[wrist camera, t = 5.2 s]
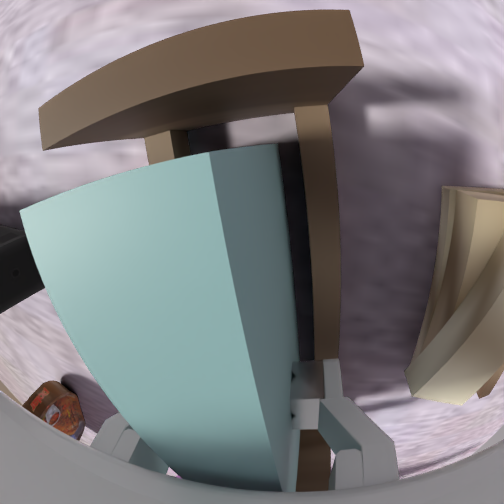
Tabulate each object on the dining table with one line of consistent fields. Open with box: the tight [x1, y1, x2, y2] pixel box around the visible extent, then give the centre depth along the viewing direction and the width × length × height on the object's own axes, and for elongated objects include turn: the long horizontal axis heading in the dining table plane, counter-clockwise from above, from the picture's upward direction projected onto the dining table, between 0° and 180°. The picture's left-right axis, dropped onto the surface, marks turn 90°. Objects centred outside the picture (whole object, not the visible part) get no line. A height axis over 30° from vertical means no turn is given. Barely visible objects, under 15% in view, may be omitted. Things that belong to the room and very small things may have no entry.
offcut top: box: [404, 233, 504, 405], centre depth 7 cm, size 8×4×2 cm, turn 157°
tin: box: [22, 381, 85, 441], centre depth 18 cm, size 15×3×8 cm, turn 157°
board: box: [20, 143, 300, 492], centre depth 8 cm, size 14×2×8 cm, turn 8°
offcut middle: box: [420, 190, 504, 354], centre depth 9 cm, size 9×5×2 cm, turn 5°
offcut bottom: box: [410, 186, 504, 365], centre depth 10 cm, size 10×5×2 cm, turn 7°
